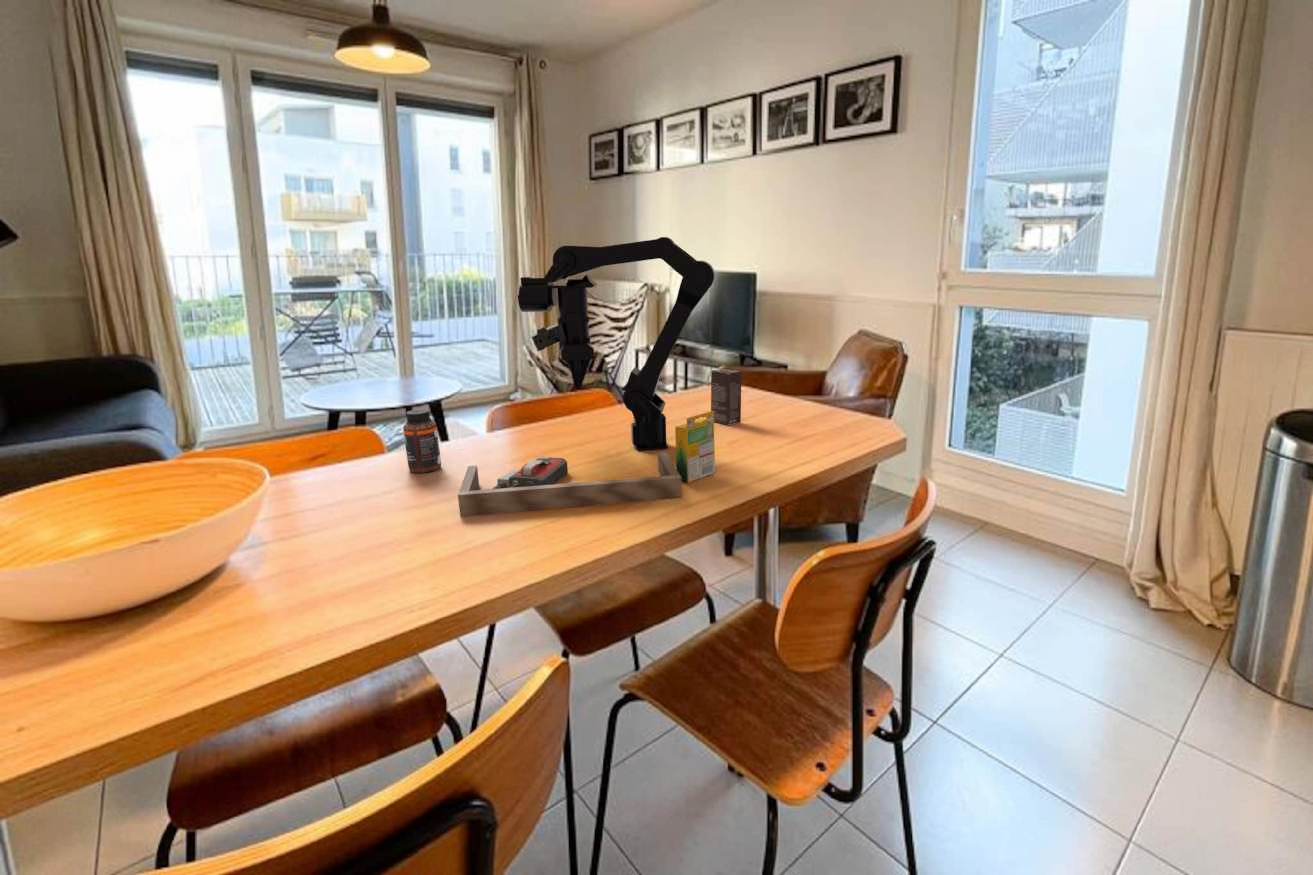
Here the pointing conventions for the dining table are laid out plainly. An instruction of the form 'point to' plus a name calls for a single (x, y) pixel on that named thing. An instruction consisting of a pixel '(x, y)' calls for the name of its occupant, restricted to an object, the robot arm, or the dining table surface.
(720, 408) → the box
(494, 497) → the brown shallow tray
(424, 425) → the supplement bottle
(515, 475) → the walkie-talkie
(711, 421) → the crayon box
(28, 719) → the dining table surface
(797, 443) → the dining table surface
